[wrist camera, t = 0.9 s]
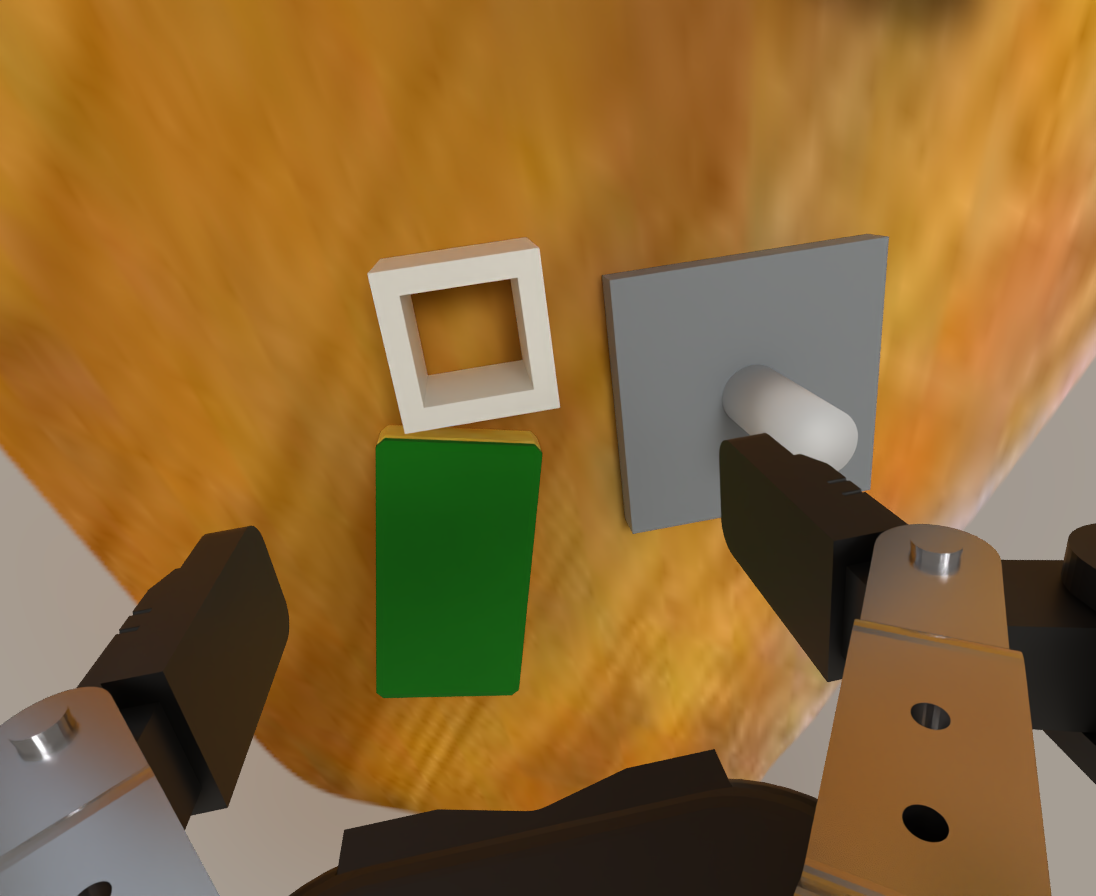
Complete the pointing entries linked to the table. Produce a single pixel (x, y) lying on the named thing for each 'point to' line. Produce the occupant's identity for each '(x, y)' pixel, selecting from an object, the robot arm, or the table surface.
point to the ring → (475, 388)
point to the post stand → (743, 367)
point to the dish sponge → (453, 559)
